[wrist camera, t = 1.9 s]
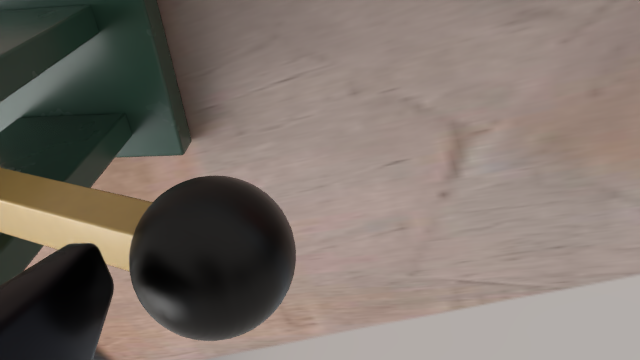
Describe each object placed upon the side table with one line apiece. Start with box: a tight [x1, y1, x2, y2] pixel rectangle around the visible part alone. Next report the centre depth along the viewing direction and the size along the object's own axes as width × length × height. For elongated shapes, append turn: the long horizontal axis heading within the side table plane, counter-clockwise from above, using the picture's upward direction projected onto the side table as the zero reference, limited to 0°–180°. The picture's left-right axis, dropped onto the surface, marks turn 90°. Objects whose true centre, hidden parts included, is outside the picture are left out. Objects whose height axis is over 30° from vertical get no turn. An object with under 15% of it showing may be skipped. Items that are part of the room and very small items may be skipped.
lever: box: [0, 167, 296, 341], centre depth 11 cm, size 12×3×3 cm, turn 95°
